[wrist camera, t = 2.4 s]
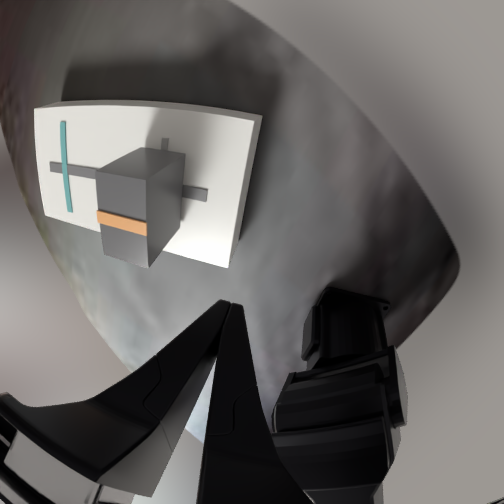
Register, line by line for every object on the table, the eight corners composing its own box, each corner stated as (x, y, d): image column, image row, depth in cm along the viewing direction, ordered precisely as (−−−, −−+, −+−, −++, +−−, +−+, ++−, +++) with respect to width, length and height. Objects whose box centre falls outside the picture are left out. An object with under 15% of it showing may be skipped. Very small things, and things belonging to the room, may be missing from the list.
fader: (186, 153, 15) (146, 181, 11) (180, 227, 18) (148, 270, 14) (140, 146, 15) (92, 171, 11) (140, 217, 18) (102, 255, 14)
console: (262, 115, 16) (253, 121, 13) (237, 245, 22) (227, 269, 19) (58, 101, 17) (33, 109, 14) (64, 201, 22) (44, 215, 20)
